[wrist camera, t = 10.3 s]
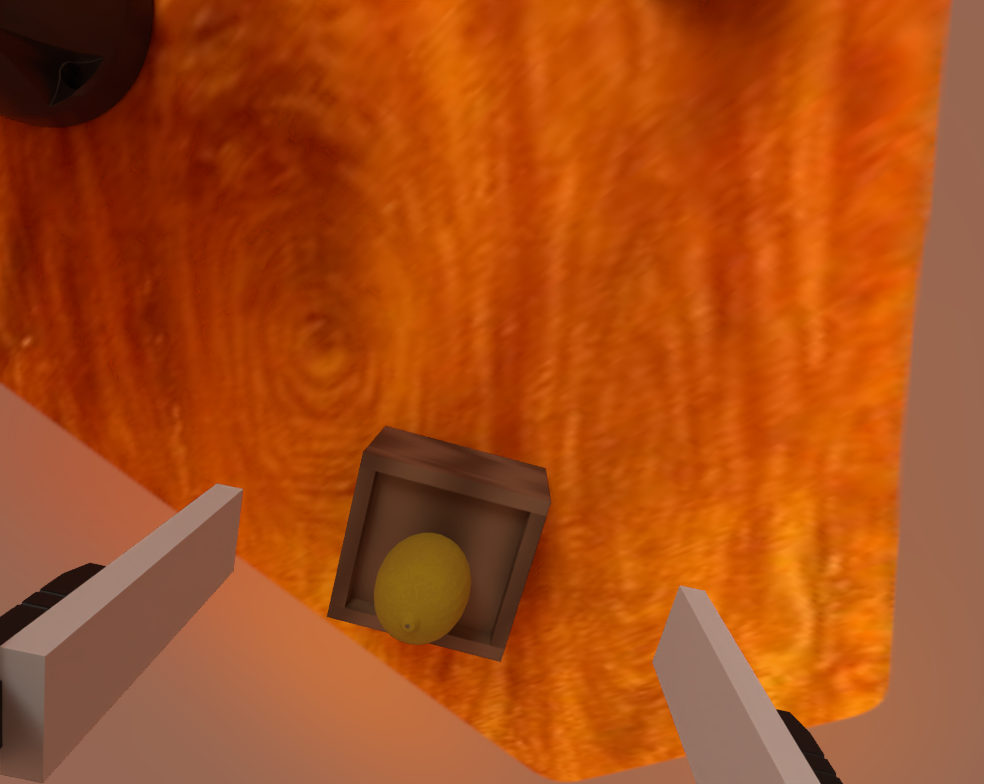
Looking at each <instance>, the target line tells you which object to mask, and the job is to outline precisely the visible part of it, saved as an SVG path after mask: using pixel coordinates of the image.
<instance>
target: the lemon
mask: <svg viewBox="0 0 984 784" xmlns="http://www.w3.org/2000/svg"><path fill="white" fill-rule="evenodd" d="M470 589H471V573H470V566H469V563H468V561H467V559H466V556H465V554H464V553H463V551H462V550H461V549H460V547H459V546H458V545H457V544H456V543H455V542H453V541H452V540H451V539H449V538H447V537H445V536H443V535H440V534H436V533H419V534H416V535H412V536H409V537H408V538H406V539H404V540H403V541H401V542H399V543H398V544H397V545H396V546H395V547H394V548H393V549H392V550H391V551H390V552H389V553H388V554H387V556H386V557H385V559H384V561H383V563H382V565H381V567H380V569H379V571H378V574H377V578H376V583H375V587H374V607H375V611H376V614H377V617H378V620H379V621H380V623H381V625H382V626H383V628H384V629H385V630H386V631H387V632H388V633H389V634H390V635H391V636H392V637H394V638H396V639H397V640H399V641H402V642H404V643H407V644H414V645H421V644H428V643H430V642H433V641H436V640H438V639H440V638H441V637H443V636H444V635H445V634H447V633H448V632H449V631H450V630H451V629H452V628H453V627H454V625H455V624H456V623H457V622H458V621H459V619H460V618H461V616H462V614H463V612H464V610H465V607H466V605H467V603H468V600H469V596H470Z"/></svg>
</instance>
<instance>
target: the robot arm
mask: <svg viewBox="0 0 984 784" xmlns="http://www.w3.org/2000/svg"><path fill="white" fill-rule="evenodd" d="M151 29H152V0H0V116H4V117H7V118H10V119H13V120H16V121H20V122H23V123H26V124H30V125H35V126H42V127H65V126H71V125H76V124H80V123H83V122H86V121H89V120H91V119H93V118H95V117H97V116H99V115H101V114H102V113H104V112H106V111H107V110H108V109H110V108H111V107H112V106H114V105H115V104H116V103H117V102H118V101H119V100H120V99H121V98H122V97H123V96H124V95H125V93H126V92H127V91H128V90H129V88H130V87H131V85H132V84H133V82H134V81H135V79H136V77H137V76H138V74H139V72H140V69H141V67H142V65H143V62H144V60H145V57H146V54H147V50H148V46H149V42H150V37H151ZM242 494H243V489H240V488H236V487H231V486H227V485H222V484H218V483H217V484H216V485H214V486H213V487H212V488H210V489H209V490H208V491H206V492H205V493H204V494H202V495H201V496H200V497H198V498H197V499H196V500H194V501H193V502H192V503H190V504H189V505H188V506H186V507H185V508H184V509H182V510H181V511H180V512H178V513H177V514H176V515H174V516H173V517H172V518H170V519H169V520H168V521H166V522H165V523H164V524H162V525H161V526H160V527H158V528H157V529H156V530H154V531H153V532H152V533H150V534H149V535H148V536H146V537H145V538H144V539H142V540H141V541H140V542H138V543H137V544H136V545H134V546H133V547H132V548H130V549H129V550H128V551H126V552H125V553H124V554H122V555H121V556H120V557H119V558H117V559H116V560H114V561H113V562H112V563H110V564H109V565H108V566H102V565H98V564H93V563H88V564H86V565H83V566H81V567H78V568H76V569H73V570H71V571H68V572H66V573H63V574H61V575H60V576H58V577H57V578H56V579H54V580H53V581H51V582H50V583H48V584H47V585H45V586H44V587H43V588H41V590H40V592H35V593H34V594H32V595H31V596H30V597H28V598H27V599H25V600H24V601H23V602H22V604H21V605H17V606H15V607H14V608H12V609H11V610H9V611H8V612H7V613H5V614H4V615H2V616H1V617H0V774H1V775H5V776H10V777H15V778H20V779H25V780H30V781H35V782H40V783H43V782H44V781H45V780H46V779H47V778H48V777H49V776H50V775H51V773H52V772H53V771H54V770H55V769H56V768H57V767H58V766H59V764H61V762H62V761H63V760H64V759H65V758H66V757H67V756H68V755H69V754H70V752H71V751H72V750H73V749H74V748H75V747H76V746H77V745H78V743H79V742H80V741H81V740H82V739H83V738H84V737H85V736H86V734H87V733H88V732H89V731H90V730H91V729H92V728H93V727H94V726H95V724H96V723H97V722H98V721H99V720H100V719H101V718H102V717H103V716H104V715H105V713H106V712H107V711H108V710H109V709H110V708H111V707H112V706H113V705H114V703H115V702H116V701H117V700H118V699H119V698H120V697H121V696H122V695H123V693H124V692H125V691H126V690H127V689H128V688H129V687H130V686H131V685H132V683H133V682H134V681H135V680H136V679H137V678H138V677H139V676H140V675H141V673H142V672H143V671H144V670H145V669H146V668H147V667H148V665H149V664H150V663H151V662H152V661H153V660H154V659H155V658H156V657H157V656H158V654H159V653H160V652H161V651H162V650H163V649H164V648H165V647H166V645H167V644H168V643H169V642H170V641H171V640H172V639H173V638H174V636H176V634H177V633H178V632H179V631H180V630H181V629H182V628H183V627H184V626H185V624H186V623H187V622H188V621H189V620H190V619H191V618H192V617H193V615H194V614H195V613H196V612H197V611H198V610H199V609H200V608H201V607H202V605H203V604H204V603H205V602H206V601H207V600H208V599H209V598H210V597H211V595H212V594H213V593H214V592H215V591H216V590H217V589H218V588H219V586H220V585H221V584H222V583H223V582H224V581H225V580H226V579H227V577H228V576H229V575H230V574H231V573H232V572H233V570H234V562H235V554H236V545H237V537H238V528H239V520H240V511H241V502H242ZM653 665H654V668H655V670H656V673H657V676H658V679H659V681H660V684H661V687H662V690H663V692H664V695H665V698H666V701H667V704H668V706H669V709H670V712H671V715H672V717H673V720H674V723H675V726H676V728H677V731H678V734H679V737H680V740H681V742H682V745H683V748H684V751H685V753H686V756H687V759H688V761H689V764H690V767H691V770H692V773H693V775H694V778H695V781H696V784H843V783H842V782H841V780H840V779H839V778H837V777H836V773H835V771H834V769H833V768H832V766H831V765H830V763H829V762H828V760H827V759H825V758H824V754H823V752H822V751H821V749H820V747H819V746H818V744H817V743H816V741H815V740H814V738H813V737H812V735H811V734H810V732H809V731H808V730H807V729H806V728H805V727H804V726H803V725H802V724H801V723H800V722H799V721H798V720H797V719H796V718H795V717H794V716H793V715H792V714H791V713H790V712H786V711H782V710H777V709H775V707H774V705H773V704H772V702H771V700H770V699H769V697H768V695H767V694H766V692H765V690H764V689H763V687H762V685H761V684H760V682H759V680H758V679H757V677H756V675H755V674H754V672H753V670H752V669H751V667H750V665H749V664H748V662H747V660H746V659H745V657H744V655H743V654H742V652H741V650H740V649H739V647H738V645H737V644H736V642H735V640H734V639H733V637H732V635H731V634H730V632H729V630H728V629H727V627H726V625H725V624H724V622H723V620H722V619H721V617H720V615H719V614H718V612H717V610H716V609H715V607H714V605H713V604H712V602H711V600H710V599H709V597H708V595H707V594H706V592H705V591H703V590H699V589H694V588H689V587H685V586H679V589H678V592H677V595H676V597H675V600H674V603H673V606H672V609H671V611H670V614H669V617H668V620H667V623H666V625H665V628H664V631H663V634H662V636H661V639H660V642H659V645H658V648H657V650H656V653H655V656H654V659H653Z"/></svg>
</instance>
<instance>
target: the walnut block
mask: <svg viewBox="0 0 984 784" xmlns="http://www.w3.org/2000/svg"><path fill="white" fill-rule="evenodd" d="M550 504H551V499H550V493H549V487H548V481H547V474H546V468H542V467H538V466H535V465H531V464H527V463H523V462H519V461H516V460H512V459H508V458H504V457H501V456H497V455H493V454H489V453H486V452H482V451H478V450H474V449H471V448H467V447H463V446H459V445H456V444H452V443H448V442H444V441H440V440H437V439H433V438H429V437H425V436H422V435H418V434H414V433H410V432H407V431H403V430H399V429H395V428H392V427H388V426H385V427H384V428H383V430H382V431H381V432H380V433H379V434H378V435H377V437H376V438H375V439H374V440H373V441H372V442H371V444H370V445H369V446H368V447H367V448H366V449H365V451H364V452H363V455H362V460H361V464H360V469H359V473H358V478H357V482H356V487H355V491H354V496H353V501H352V505H351V510H350V514H349V519H348V523H347V528H346V532H345V537H344V541H343V546H342V551H341V555H340V560H339V564H338V569H337V573H336V578H335V582H334V587H333V592H332V596H331V601H330V605H329V610H328V614H327V617H330V618H333V619H337V620H341V621H345V622H349V623H353V624H357V625H360V626H364V627H368V628H372V629H376V630H380V631H384V632H387V631H386V630H385V629H384V628H383V626H382V625H381V623H380V621H379V620H378V617H377V614H376V611H375V607H374V587H375V583H376V578H377V574H378V571H379V569H380V567H381V565H382V563H383V561H384V559H385V557H386V556H387V554H388V553H389V552H390V551H391V550H392V549H393V548H394V547H395V546H396V545H397V544H398V543H399V542H401V541H403V540H404V539H406V538H408V537H409V536H412V535H416V534H419V533H436V534H440V535H443V536H445V537H447V538H449V539H451V540H452V541H453V542H455V543H456V544H457V545H458V546H459V547H460V549H461V550H462V551H463V553H464V554H465V556H466V559H467V561H468V563H469V566H470V573H471V589H470V596H469V600H468V603H467V605H466V607H465V610H464V612H463V614H462V616H461V618H460V619H459V621H458V622H457V623H456V624H455V625H454V627H453V628H452V629H451V630H450V631H449V632H448V633H447V634H445V635H444V636H443V637H441V638H440V639H438V640H436V641H433V642H430V644H434V645H438V646H441V647H445V648H449V649H453V650H457V651H461V652H465V653H468V654H472V655H476V656H480V657H484V658H488V659H492V660H495V661H499V662H501V659H502V656H503V653H504V650H505V646H506V643H507V640H508V637H509V634H510V631H511V627H512V624H513V621H514V618H515V615H516V611H517V608H518V605H519V602H520V599H521V596H522V592H523V589H524V586H525V583H526V580H527V577H528V573H529V570H530V567H531V564H532V561H533V558H534V554H535V551H536V548H537V545H538V542H539V538H540V535H541V532H542V529H543V526H544V523H545V519H546V516H547V513H548V510H549V507H550ZM387 633H388V632H387Z"/></svg>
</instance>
